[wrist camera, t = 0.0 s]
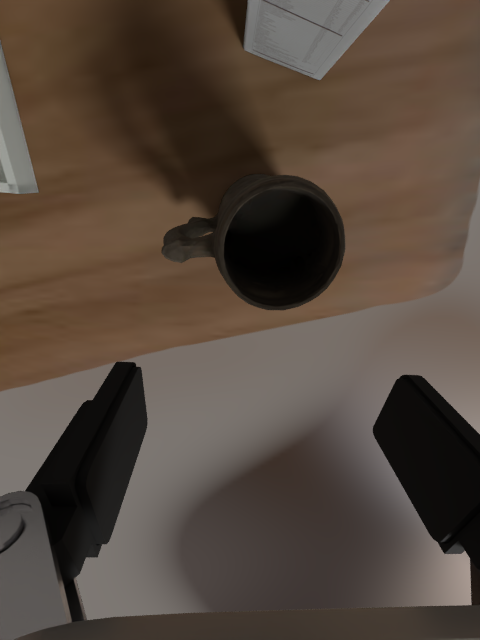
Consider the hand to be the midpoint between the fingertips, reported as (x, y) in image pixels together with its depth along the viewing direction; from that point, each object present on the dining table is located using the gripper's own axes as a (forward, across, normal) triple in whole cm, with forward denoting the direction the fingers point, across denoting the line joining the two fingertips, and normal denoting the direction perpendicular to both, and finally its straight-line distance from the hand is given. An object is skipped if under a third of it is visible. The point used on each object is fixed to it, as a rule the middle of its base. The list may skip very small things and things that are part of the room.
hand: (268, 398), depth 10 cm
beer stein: (+31, 0, -2) cm, 31 cm away
